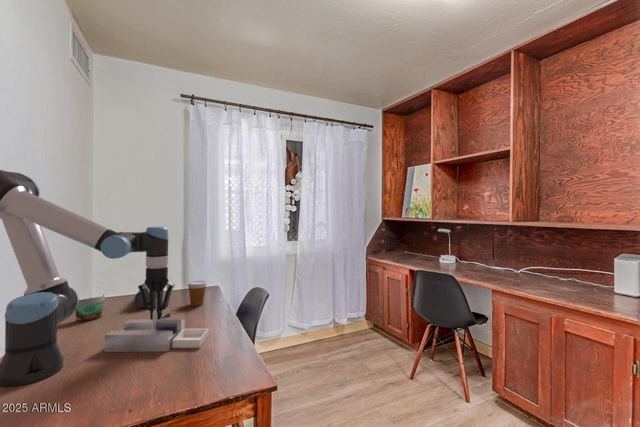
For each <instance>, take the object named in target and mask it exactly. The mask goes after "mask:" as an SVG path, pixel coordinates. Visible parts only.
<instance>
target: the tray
mask: <svg viewBox="0 0 640 427" xmlns="http://www.w3.org/2000/svg"><path fill="white" fill-rule="evenodd" d="M209 333H210V332H209V328H185V329H183V330H182V331H181V332H180V333H179V334H178V335H177V336H176V337H175V338H174V339H173V340H172V348H171V349H200V348H201V347H202V346H203V345H204V344H205V342H206V340H207V339H208V338H209Z"/></svg>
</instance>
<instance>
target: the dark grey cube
mask: <svg viewBox="0 0 640 427" xmlns="http://www.w3.org/2000/svg"><path fill="white" fill-rule="evenodd" d="M181 319H182V318H181ZM181 319H178V318H177V319H176V318H174V320H170V321H169V322H167V324H166V331H169V330H173V334H177V333H178V332H179V331H180V330H181Z"/></svg>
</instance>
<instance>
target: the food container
mask: <svg viewBox="0 0 640 427" xmlns="http://www.w3.org/2000/svg"><path fill="white" fill-rule="evenodd" d="M105 300H106V296H105V294H102V296H96V297H87V298H84V299H79V303H78V306H77V308H76V310H75V311H74V313H75V318H76V319H75V320H76V322H79V323H85V322H93V321H96V320H99V319H101V318H102V315H103V314H102V313H103V307H104V301H105Z"/></svg>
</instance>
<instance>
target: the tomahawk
mask: <svg viewBox="0 0 640 427" xmlns="http://www.w3.org/2000/svg"><path fill="white" fill-rule="evenodd" d="M171 315H172V313H170V312H169V313H166V314H165V315H164V316H162V318H161V319H168V317H169V316H171Z"/></svg>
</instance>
